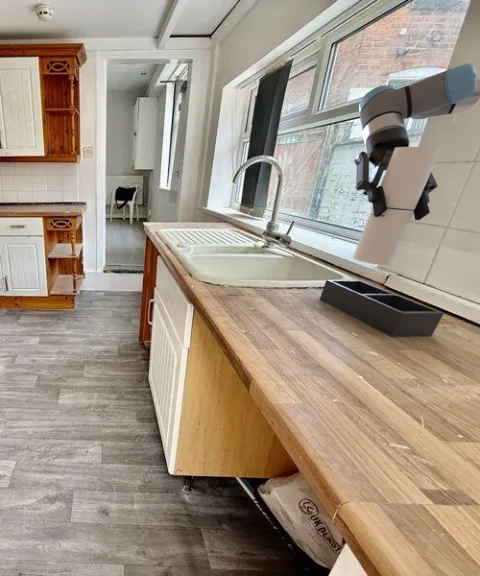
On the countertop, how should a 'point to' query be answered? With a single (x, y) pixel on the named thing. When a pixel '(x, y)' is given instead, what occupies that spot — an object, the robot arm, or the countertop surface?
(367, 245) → the cylindrical container
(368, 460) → the countertop surface
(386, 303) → the divided tray
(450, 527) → the countertop surface
